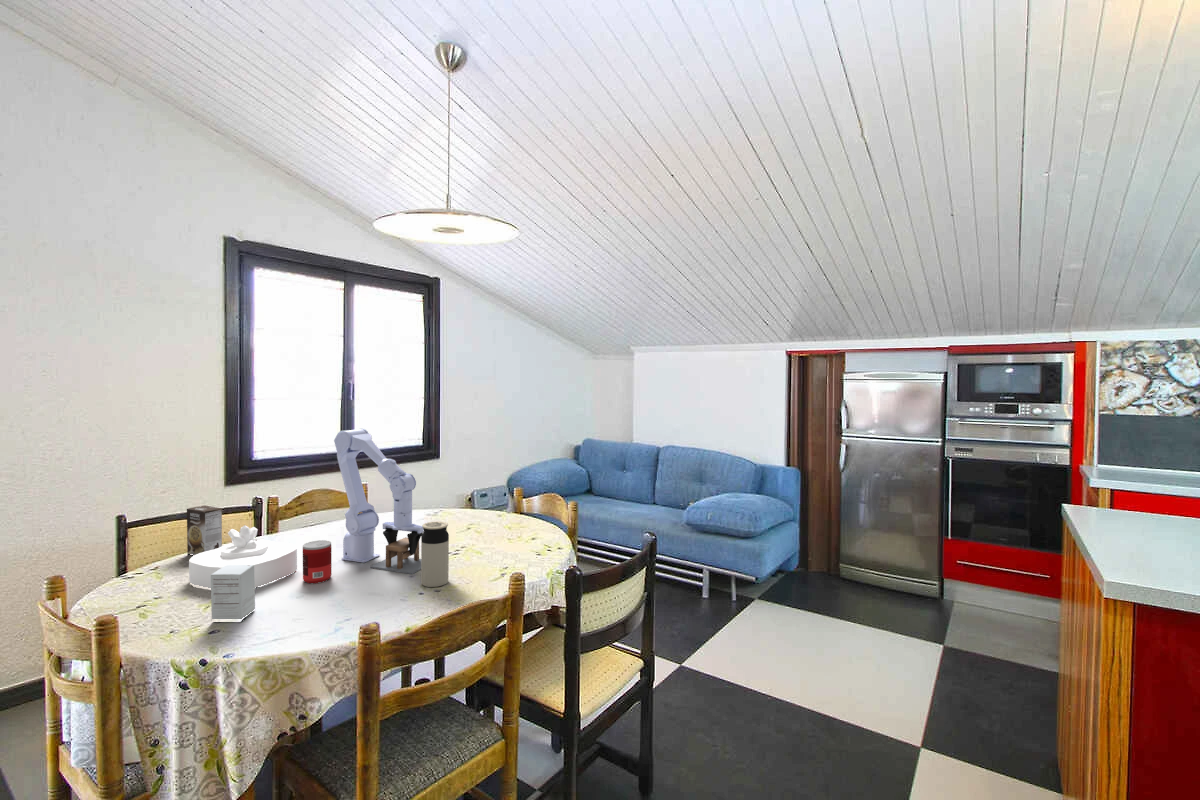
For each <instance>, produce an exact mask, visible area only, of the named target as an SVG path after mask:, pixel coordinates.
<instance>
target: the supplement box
mask: <svg viewBox="0 0 1200 800" xmlns="http://www.w3.org/2000/svg"><path fill="white" fill-rule="evenodd" d="M255 590H256V589H255V583H254V565H226V566H224V567H222V568H221V569H219V570H218V571H216V572H214V573H213V574H211V591H210V599H211V601H210V603H211V605H210V607H211V608H210V609H211V611H210V612H211V620H212V619H242V618H243V617H245V616H246V615H248V614H249V613H250V612H252V611H253V610H254V609H255V610H256V594H255V592H256V591H255Z"/></svg>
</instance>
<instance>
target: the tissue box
mask: <svg viewBox="0 0 1200 800" xmlns="http://www.w3.org/2000/svg"><path fill="white" fill-rule="evenodd" d="M239 529H240V530H239V531H238V530H236V529H233V528H231V529H230V530H229V531H228V532H227V535H228V536H229V537H230V539H231V542H232V543H229V544H226V545H222V547H220V548H217V549H214V550H210V551H206V552H202V553H199V554H196V555H194V556H190V558H189V560H188V575H189V577H188V582H189V581H190V583H192V584H194V585H199V586H203V587H208V588H211V574H213V573H214V572H216V571H218V570H219V569H221V568H222V567H224V566H226V565H254V583H255V587H258V586H261V585H264V584H267V583H269V582H272V581H274V580H277V579H279V578H282V577H284V576H287V575H289V574H291V573H293V572H295V571H296V569H297V570H298V547H297V546H296V545H295V544H294V543H290V542H289V543H288V542H276V541H272V540H265V539H258V538H256V537H257V535H258V530H259V529H258V528H256V527H255V526H253V527H249V526H247V525H245V524H244V525H243V526H241V527H240V528H239ZM296 572H297V571H296ZM296 572H295V573H296Z"/></svg>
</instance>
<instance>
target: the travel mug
mask: <svg viewBox="0 0 1200 800" xmlns="http://www.w3.org/2000/svg"><path fill="white" fill-rule="evenodd" d="M421 526H422V527H423V534H422V536H421V538H420V543H421V546H420V547H421V549H420V552H421V554H420V555H421V556H420V559H421V570H420V571H421V573H420V574H421V575H420V578H421V579H420V580H421V581H420V583H421V585H422V586H424V587H427V588H438V587H442V586H445V585H446V584H448V583H449V570H450V569H449V563H450V562H449V561H450V559H449V557H450V556H449V553H450V552H449V551H450V549H449V548H450V545H449V544H450V543H449V541H450V539H449V537H450V535H449V532H448V529H447V528H448V526H449V524H448V523H447V522H446V521H439V520H438V521H427V522H425V523H423V524H422V525H421Z"/></svg>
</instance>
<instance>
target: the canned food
mask: <svg viewBox="0 0 1200 800" xmlns="http://www.w3.org/2000/svg"><path fill="white" fill-rule="evenodd" d="M331 578H332V542H331V541H330V540H327V539H326V540H325V539H322V540H312V541H309V542H306V543H304V544H303V545H302V580H303V582H304V581H305V582H307V583H306V584H311V583H313V584H319V583H318V582H321V583H324V582H327V581H329V580H330V579H331ZM328 579H329V580H328ZM326 580H327V581H326ZM323 581H324V582H323ZM305 582H304V583H305Z"/></svg>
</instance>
